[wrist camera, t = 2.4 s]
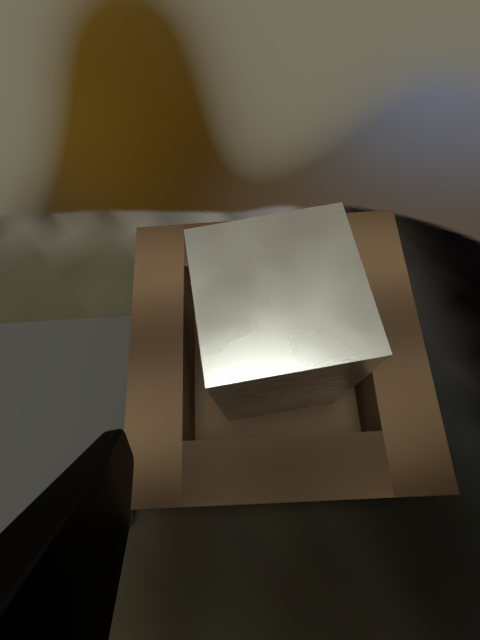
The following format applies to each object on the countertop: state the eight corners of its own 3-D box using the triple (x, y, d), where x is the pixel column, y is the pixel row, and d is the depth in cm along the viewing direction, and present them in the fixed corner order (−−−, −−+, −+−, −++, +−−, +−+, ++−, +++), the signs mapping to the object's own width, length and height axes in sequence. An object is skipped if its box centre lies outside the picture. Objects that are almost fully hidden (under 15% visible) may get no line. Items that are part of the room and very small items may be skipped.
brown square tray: (407, 486, 18) (459, 494, 13) (155, 498, 18) (119, 510, 13) (365, 263, 22) (393, 209, 17) (162, 276, 22) (136, 227, 18)
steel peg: (335, 402, 17) (392, 354, 10) (228, 421, 17) (205, 388, 10) (310, 304, 19) (342, 202, 12) (213, 321, 19) (183, 229, 12)
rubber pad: (133, 522, 18) (122, 527, 16) (-72, 531, 18) (-100, 537, 17) (143, 324, 21) (135, 315, 20) (-28, 335, 22) (-48, 326, 20)
